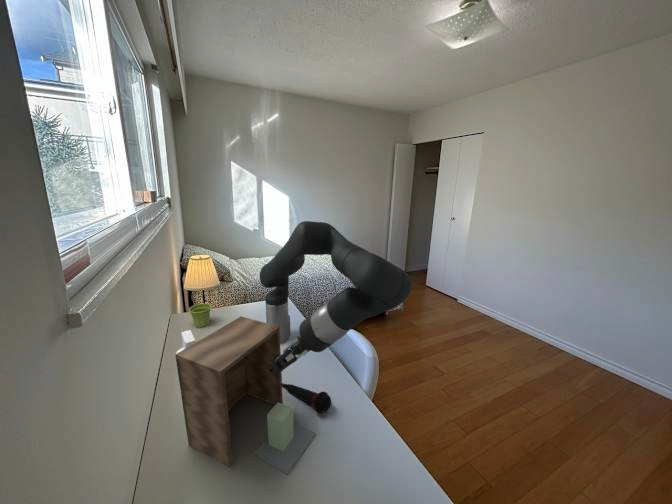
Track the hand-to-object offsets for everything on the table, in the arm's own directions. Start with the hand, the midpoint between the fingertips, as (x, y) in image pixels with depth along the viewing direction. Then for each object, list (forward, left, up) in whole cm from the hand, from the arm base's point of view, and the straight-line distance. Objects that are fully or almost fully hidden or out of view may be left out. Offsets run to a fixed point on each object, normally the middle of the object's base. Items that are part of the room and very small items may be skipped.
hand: (282, 359), depth 64 cm
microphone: (-15, -5, -25) cm, 30 cm away
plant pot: (-28, -74, -25) cm, 83 cm away
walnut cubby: (+1, -15, -25) cm, 29 cm away
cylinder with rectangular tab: (-7, -50, -25) cm, 56 cm away
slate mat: (0, 0, -25) cm, 25 cm away
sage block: (0, -1, -24) cm, 24 cm away
